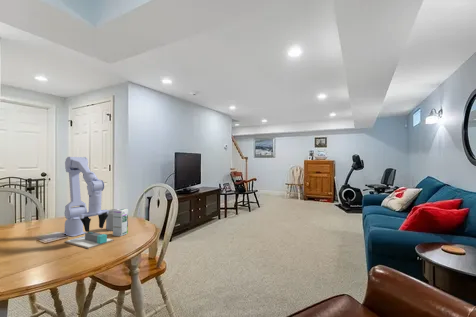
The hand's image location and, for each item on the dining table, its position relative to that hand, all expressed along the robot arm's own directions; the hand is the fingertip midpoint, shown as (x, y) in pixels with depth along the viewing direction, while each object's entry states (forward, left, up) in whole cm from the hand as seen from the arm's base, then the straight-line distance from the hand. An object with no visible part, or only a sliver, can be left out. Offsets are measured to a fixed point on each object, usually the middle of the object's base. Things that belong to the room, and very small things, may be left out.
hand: (94, 229), depth 130 cm
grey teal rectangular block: (+1, 0, -6) cm, 6 cm away
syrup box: (+1, +15, -7) cm, 16 cm away
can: (-12, +20, -7) cm, 24 cm away
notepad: (-2, -1, -6) cm, 7 cm away
